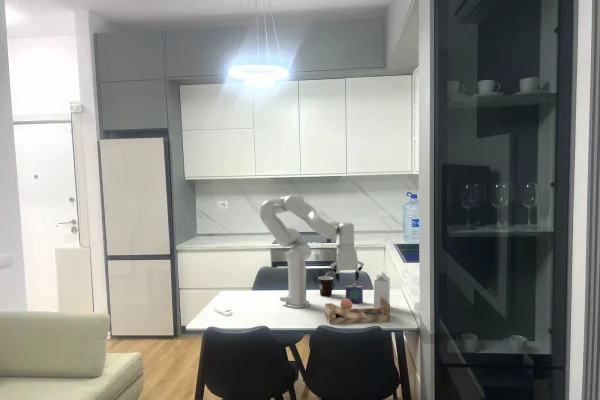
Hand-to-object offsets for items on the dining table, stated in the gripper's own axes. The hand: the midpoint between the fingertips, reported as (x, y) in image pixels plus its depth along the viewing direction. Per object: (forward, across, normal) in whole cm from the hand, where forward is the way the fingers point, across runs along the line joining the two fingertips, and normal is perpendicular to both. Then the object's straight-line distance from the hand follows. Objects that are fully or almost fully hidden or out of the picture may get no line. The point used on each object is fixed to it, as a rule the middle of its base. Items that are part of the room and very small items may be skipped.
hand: (347, 280), depth 211 cm
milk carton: (+16, +18, +1) cm, 24 cm away
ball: (+16, -1, 0) cm, 16 cm away
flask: (+16, +6, +12) cm, 21 cm away
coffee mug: (+16, -7, +26) cm, 31 cm away
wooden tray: (+16, +2, -12) cm, 20 cm away
